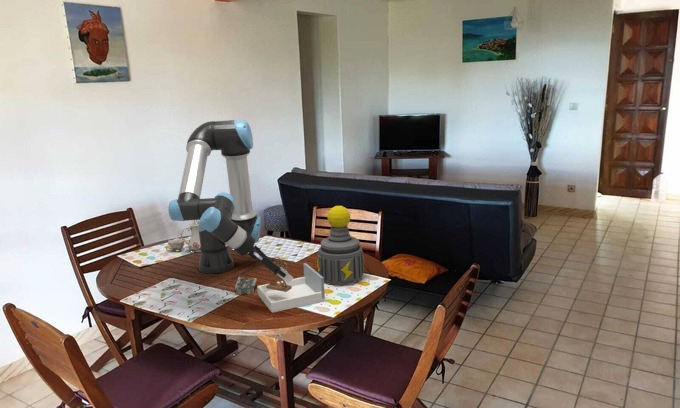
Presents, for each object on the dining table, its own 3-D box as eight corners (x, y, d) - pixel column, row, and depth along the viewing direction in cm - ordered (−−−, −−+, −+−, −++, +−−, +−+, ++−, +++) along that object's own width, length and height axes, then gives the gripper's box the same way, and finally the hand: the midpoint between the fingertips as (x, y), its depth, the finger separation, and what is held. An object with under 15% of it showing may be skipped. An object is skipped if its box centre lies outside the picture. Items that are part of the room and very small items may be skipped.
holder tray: (257, 294, 189) (256, 272, 187) (307, 284, 197) (305, 263, 195) (271, 312, 173) (270, 288, 171) (324, 300, 181) (323, 277, 179)
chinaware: (216, 242, 264) (212, 211, 262) (230, 246, 251) (226, 213, 249) (164, 254, 247) (158, 222, 245) (176, 259, 234) (170, 224, 232)
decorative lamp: (324, 289, 192) (320, 213, 185) (313, 272, 210) (310, 203, 203) (370, 282, 197) (368, 208, 190) (356, 267, 214) (354, 199, 208)
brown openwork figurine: (265, 288, 182) (263, 256, 179) (272, 284, 185) (270, 253, 182) (286, 292, 177) (284, 259, 175) (292, 288, 181) (290, 256, 178)
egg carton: (239, 285, 200) (238, 275, 200) (258, 284, 200) (257, 274, 199) (234, 295, 190) (233, 285, 189) (253, 294, 190) (252, 284, 189)
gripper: (227, 242, 180) (273, 277, 190) (239, 257, 163) (289, 294, 173) (240, 226, 181) (286, 261, 191) (254, 239, 164) (303, 277, 174)
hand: (287, 277), depth 182 cm, fingers closed on brown openwork figurine, 6 cm apart
